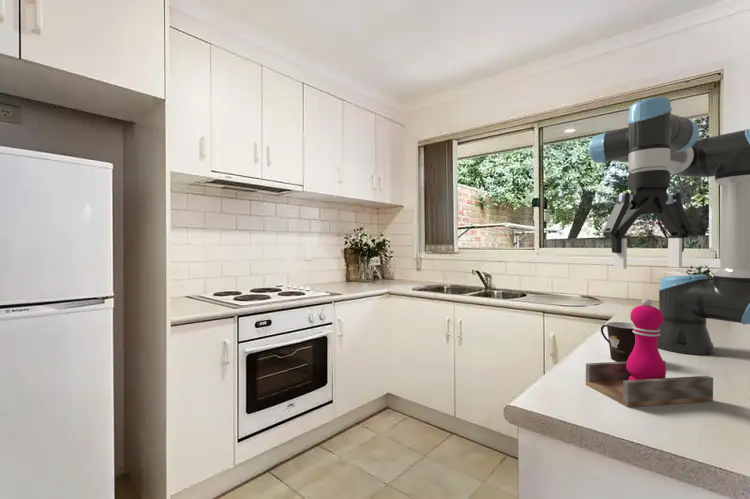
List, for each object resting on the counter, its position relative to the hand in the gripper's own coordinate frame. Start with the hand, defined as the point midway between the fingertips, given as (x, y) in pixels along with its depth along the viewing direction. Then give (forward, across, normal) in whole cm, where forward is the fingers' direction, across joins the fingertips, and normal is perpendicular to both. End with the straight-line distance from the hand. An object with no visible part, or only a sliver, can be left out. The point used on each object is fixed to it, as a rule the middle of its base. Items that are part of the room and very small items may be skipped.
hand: (647, 267), depth 84 cm
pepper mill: (+27, 0, 0) cm, 27 cm away
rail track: (+28, 0, 0) cm, 28 cm away
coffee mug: (+28, -14, -23) cm, 39 cm away
